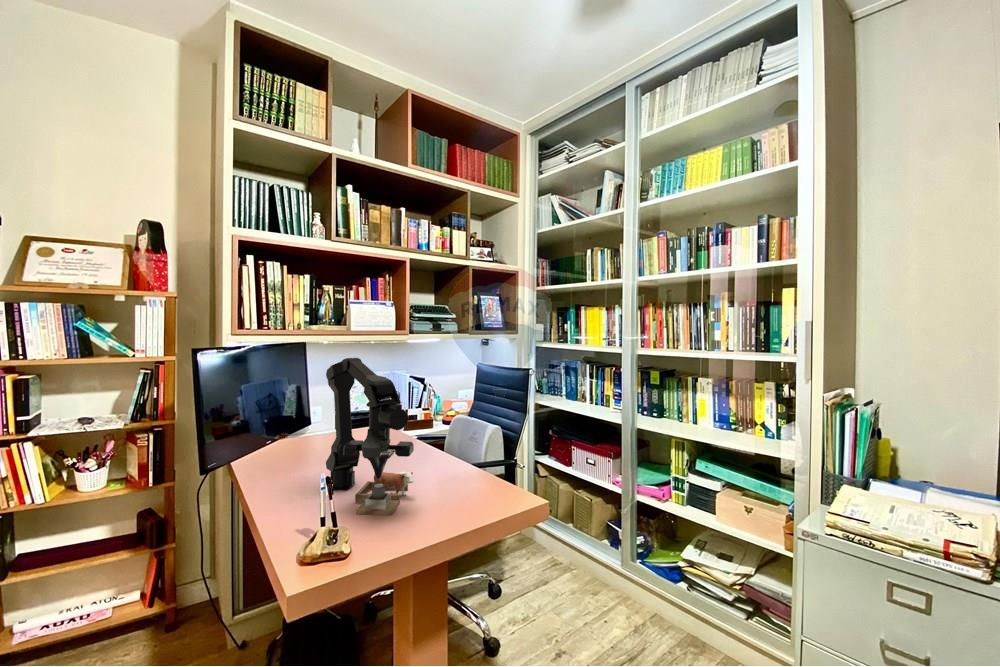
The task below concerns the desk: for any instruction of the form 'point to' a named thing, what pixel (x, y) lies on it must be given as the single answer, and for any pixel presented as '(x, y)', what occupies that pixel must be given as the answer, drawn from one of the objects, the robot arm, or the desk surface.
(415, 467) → the desk surface
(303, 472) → the desk surface
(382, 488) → the cylinder
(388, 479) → the bull figurine
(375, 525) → the desk surface
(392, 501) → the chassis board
